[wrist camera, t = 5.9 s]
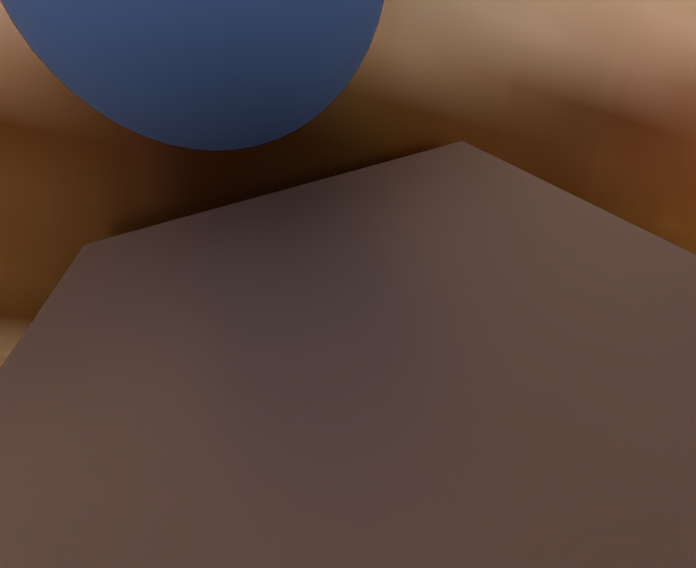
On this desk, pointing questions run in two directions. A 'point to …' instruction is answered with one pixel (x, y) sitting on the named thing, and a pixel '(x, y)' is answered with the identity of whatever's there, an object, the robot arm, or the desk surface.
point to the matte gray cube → (361, 384)
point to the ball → (202, 62)
